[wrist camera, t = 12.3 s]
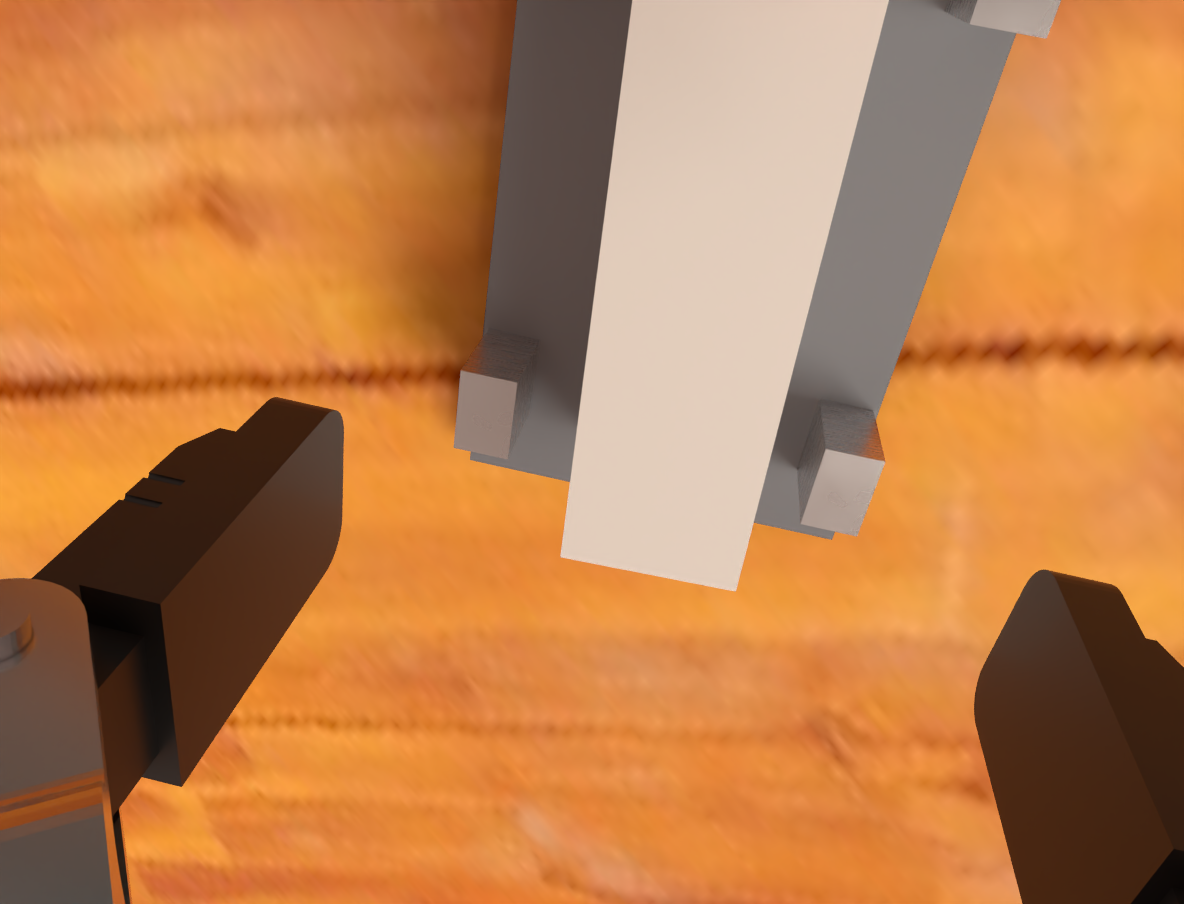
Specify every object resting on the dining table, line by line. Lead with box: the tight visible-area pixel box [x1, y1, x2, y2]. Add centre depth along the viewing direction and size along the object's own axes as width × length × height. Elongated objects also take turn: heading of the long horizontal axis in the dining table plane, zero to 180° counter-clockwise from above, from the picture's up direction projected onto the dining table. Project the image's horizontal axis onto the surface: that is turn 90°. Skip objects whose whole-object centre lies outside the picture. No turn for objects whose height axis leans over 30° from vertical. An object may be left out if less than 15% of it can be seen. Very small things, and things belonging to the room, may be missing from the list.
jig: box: [454, 0, 1061, 540], centre depth 24 cm, size 20×12×4 cm, turn 171°
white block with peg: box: [560, 0, 889, 591], centre depth 21 cm, size 16×4×10 cm, turn 173°
